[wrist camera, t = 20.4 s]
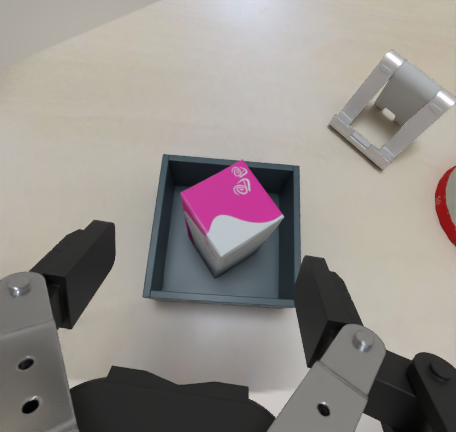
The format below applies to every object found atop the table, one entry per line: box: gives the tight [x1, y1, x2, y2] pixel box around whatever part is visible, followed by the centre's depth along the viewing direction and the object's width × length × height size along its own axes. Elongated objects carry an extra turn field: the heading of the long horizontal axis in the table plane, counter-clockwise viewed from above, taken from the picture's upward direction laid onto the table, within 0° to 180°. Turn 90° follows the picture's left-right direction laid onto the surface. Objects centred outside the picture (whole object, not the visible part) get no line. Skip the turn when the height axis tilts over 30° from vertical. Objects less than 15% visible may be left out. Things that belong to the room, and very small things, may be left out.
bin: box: [143, 154, 301, 308], centre depth 30 cm, size 13×13×6 cm
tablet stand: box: [329, 49, 456, 169], centre depth 35 cm, size 9×8×8 cm
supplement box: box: [181, 160, 284, 278], centre depth 27 cm, size 6×6×12 cm
